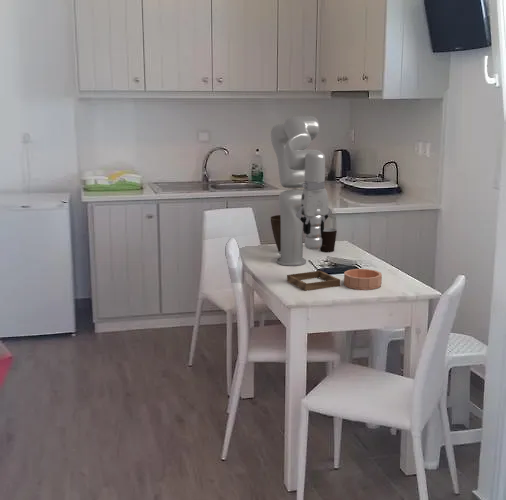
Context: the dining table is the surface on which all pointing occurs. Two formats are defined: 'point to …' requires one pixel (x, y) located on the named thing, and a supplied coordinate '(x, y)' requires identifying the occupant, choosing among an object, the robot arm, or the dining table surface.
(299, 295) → the dining table surface
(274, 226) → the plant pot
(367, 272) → the terracotta bowl
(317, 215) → the grey metal bulbous cylinder
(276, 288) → the dining table surface
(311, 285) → the brown picture frame
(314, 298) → the dining table surface
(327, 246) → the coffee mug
